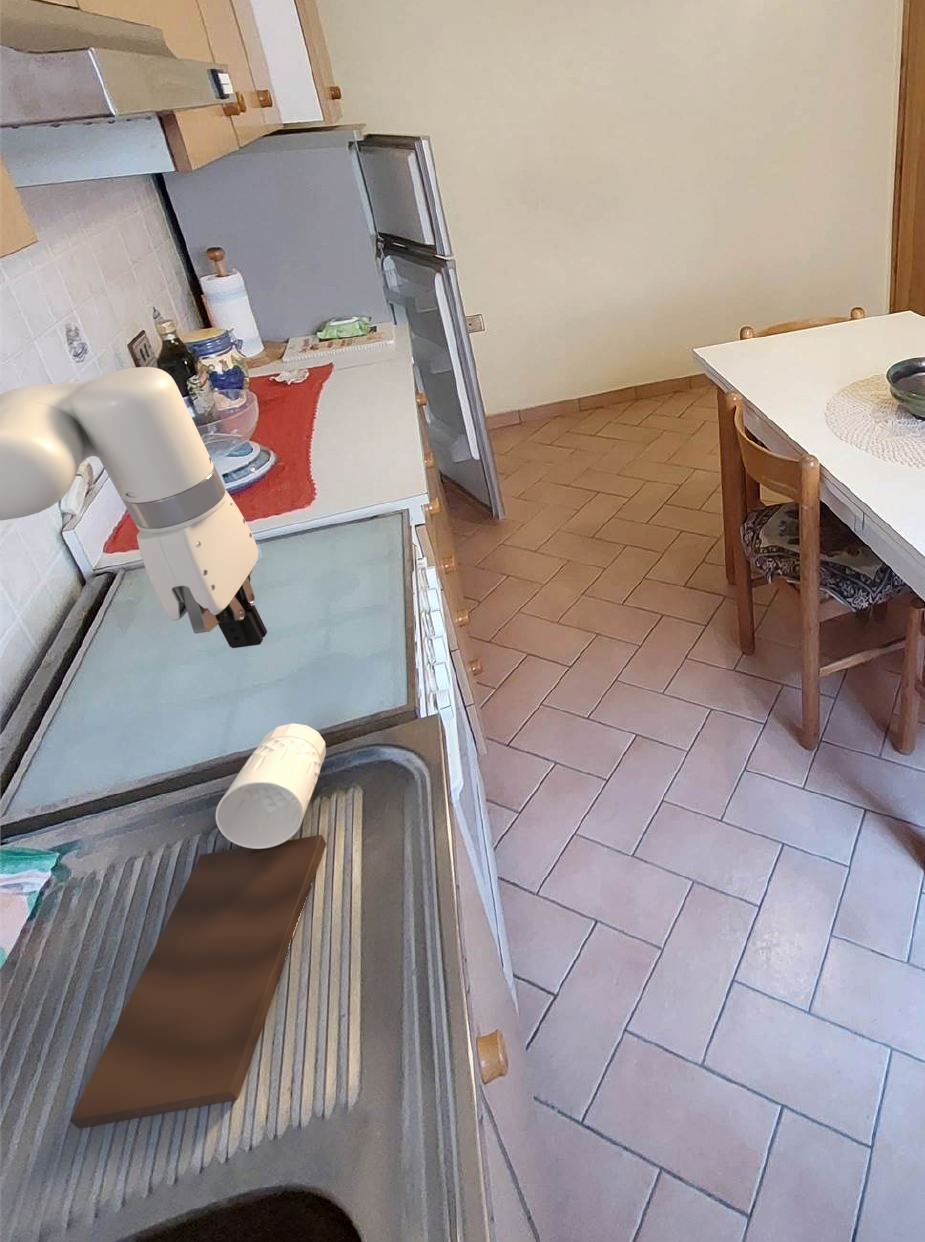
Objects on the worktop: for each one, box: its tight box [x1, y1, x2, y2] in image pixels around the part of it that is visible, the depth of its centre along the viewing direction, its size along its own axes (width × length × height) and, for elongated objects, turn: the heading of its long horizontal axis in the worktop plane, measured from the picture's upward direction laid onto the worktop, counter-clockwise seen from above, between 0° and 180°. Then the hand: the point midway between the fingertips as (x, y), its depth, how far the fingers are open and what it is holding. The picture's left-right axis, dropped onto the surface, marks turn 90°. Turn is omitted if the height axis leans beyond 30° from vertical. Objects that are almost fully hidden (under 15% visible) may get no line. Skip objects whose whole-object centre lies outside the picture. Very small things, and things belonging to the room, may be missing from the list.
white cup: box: [215, 722, 327, 849], centre depth 80 cm, size 8×8×10 cm
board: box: [69, 834, 327, 1129], centre depth 68 cm, size 21×12×2 cm, turn 6°
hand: (249, 640), depth 80 cm, fingers closed
